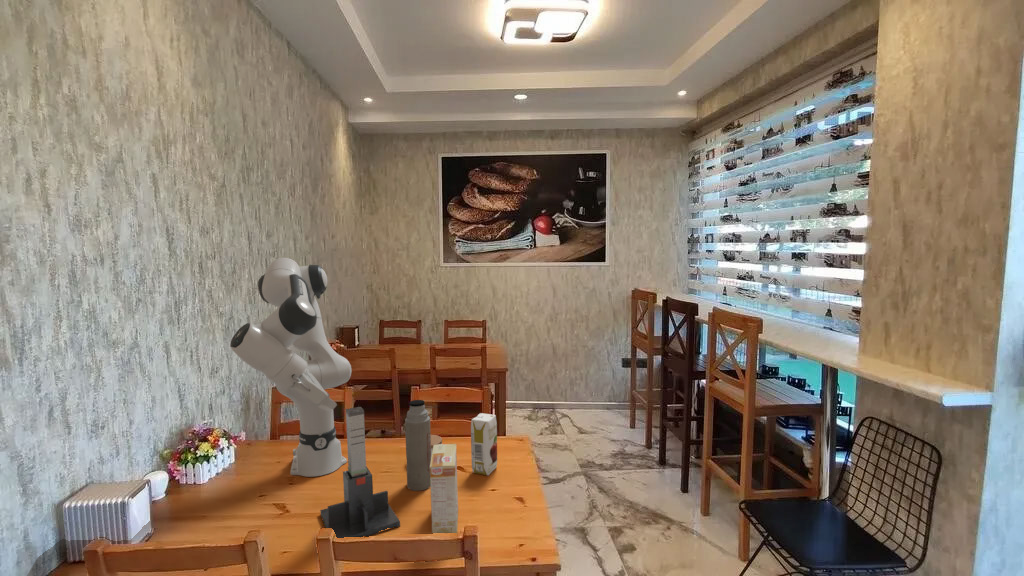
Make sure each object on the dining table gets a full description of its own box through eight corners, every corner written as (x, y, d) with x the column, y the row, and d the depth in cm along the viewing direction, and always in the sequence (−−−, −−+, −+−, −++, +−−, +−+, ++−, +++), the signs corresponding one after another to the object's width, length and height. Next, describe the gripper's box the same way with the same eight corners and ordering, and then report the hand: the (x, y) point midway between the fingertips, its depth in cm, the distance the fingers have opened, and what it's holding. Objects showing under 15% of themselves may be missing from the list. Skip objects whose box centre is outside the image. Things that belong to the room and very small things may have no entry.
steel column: (348, 489, 140) (345, 409, 138) (363, 485, 142) (360, 406, 140) (352, 495, 136) (348, 413, 134) (367, 491, 138) (364, 410, 136)
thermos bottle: (435, 480, 163) (433, 398, 161) (426, 491, 156) (424, 406, 153) (413, 478, 165) (410, 397, 163) (403, 489, 157) (400, 404, 155)
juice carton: (469, 473, 168) (468, 419, 166) (480, 463, 176) (479, 411, 174) (489, 477, 165) (488, 422, 163) (499, 466, 173) (498, 414, 171)
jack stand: (320, 515, 143) (318, 468, 142) (381, 498, 152) (380, 454, 151) (332, 547, 127) (330, 495, 126) (400, 526, 136) (398, 477, 135)
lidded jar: (444, 464, 175) (444, 439, 174) (414, 469, 172) (413, 443, 171) (440, 452, 185) (439, 428, 184) (411, 456, 182) (410, 432, 181)
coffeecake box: (434, 507, 146) (433, 444, 145) (458, 506, 147) (457, 443, 145) (430, 536, 131) (428, 466, 130) (457, 535, 132) (455, 465, 130)
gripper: (305, 370, 120) (347, 402, 126) (294, 355, 137) (332, 384, 143) (286, 391, 118) (330, 422, 124) (277, 373, 135) (316, 401, 141)
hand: (331, 401), depth 133 cm, fingers open, 8 cm apart
